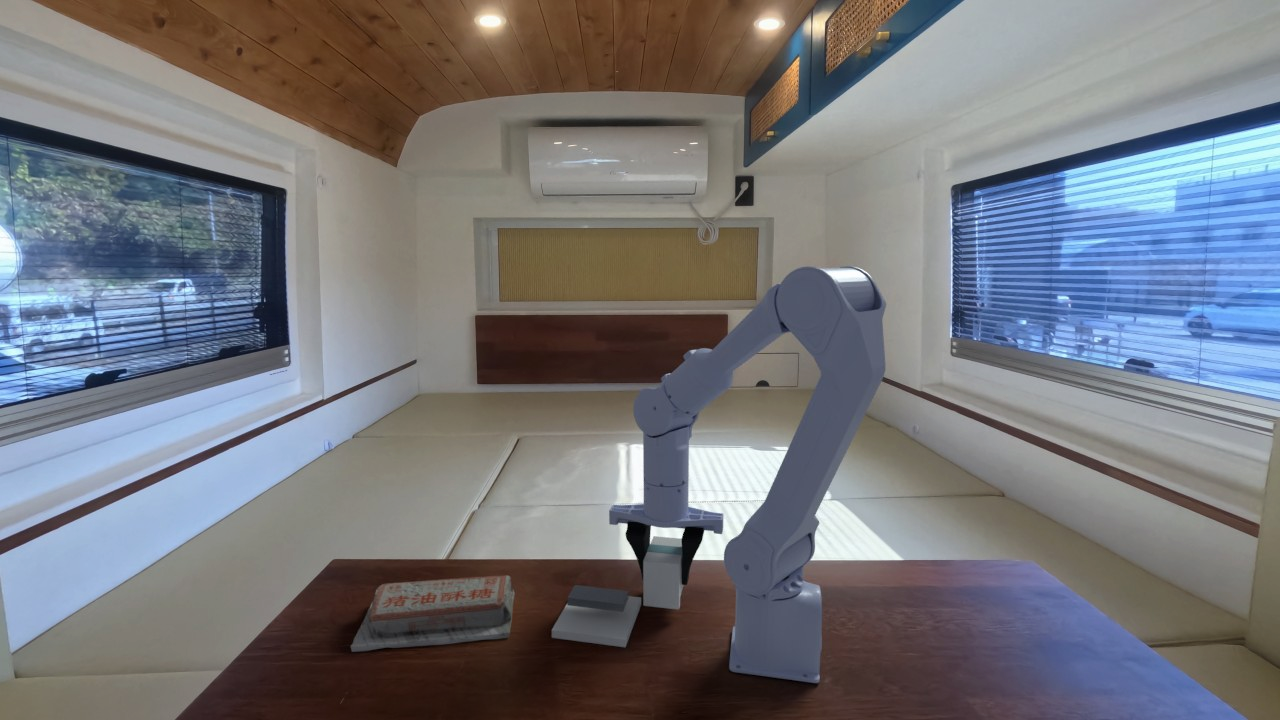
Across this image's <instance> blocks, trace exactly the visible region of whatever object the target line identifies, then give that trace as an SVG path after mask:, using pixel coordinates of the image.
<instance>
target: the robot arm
mask: <svg viewBox="0 0 1280 720" xmlns="http://www.w3.org/2000/svg"><path fill="white" fill-rule="evenodd" d="M886 307H887V301H886V300H885V298H884V296H883V294H882V293H881V291H880V289H879V287H878V285H877V283H876V281H875V280H874V279H873V277H872V275H870V274H869V273H868V272H867V271H866V270H864V269H862V268H859V267H857V266H850V265H849V266H848V265H846V266H839V267H818V266H817V267H816V266H809V265H807V266H801V267H798V268H796V269H794V270H792V271H791V272H789V273H788V274H787V275H786V276H785V277H784V278H783V280H782V281H781V282H780V283H779V282H778V283H777V284H774V285H773V286H772V287H770V288H769V289H768V290H767V291H766V293H765V295H764V296H763V298H762V299H761V300H760V302H759V303H758V304H756V306H755V307H754V308H752V310H751V311H750V312H749V313H748V314H747V315H745V317H744V318H743V319H742V320H741V321H740V322H739V323H738V324H737V325H736V326H735V327H733V329H731V331H730V332H729V333H728V334H727V335H726V336H725V337H724V338H722V340H721V341H720V342H719V343H718V344H717V345H716V346H715V347H714V348H713V349H711V348H706V347H704V348H698V349H691V350H688V351H687V352H685V353H684V355H683V356H682V357H683V359H684V361H682V363H681V364H680V365H679V366H678V367H677V368H675V369H674V370H673V371H672V372H671V373H665V374H664V375H662V376H661V378H660V381H661V382H660V384H659V385H658V387H645V388H642V389H641V390H640V391H639V393H638V395H637V396H636V397H635V399H634V402H633V407H632V409H633V410H632V412H633V417H634V420H635V423H636V425H637V427H638V428H639V430H640V431H642V433H643V434H642V435H643V437H642V438H643V439H642V440H643V441H642V442H643V451H642V452H643V463H642V464H643V465H642V466H643V467H642V468H643V470H642V471H643V503H639V504H638V503H637V504H613V505H612V506H611V507H610V509H608V513H609V514H608V516H609V517H608V518H609V519H608V521H609V525H610V526H611V525H612V526H617V525H619V524H626V525H627V527H626V531H625V539H626V540H627V542H628V543H629V546H631V549H632V551H633V552H634V555H635V557H636V560H637V562H638V565H639V566H638V567H639V570H640V573H641V579H642V580H641V581H643V561H644V558H645V556H646V553H647V550H648V547H649V545H650V544H651V531H652V527H656V528H662V529H663V528H664V529H668V528H669V529H670V528H674V529H684V530H683V533H682V535H681V536H682V537H681V539H682V557H683V565H682V585H683V586H687V585H688V583H689V578H690V569H691V566H692V563H693V561H694V558H695V555H696V554H697V552H698V550H699V548H700V546H701V544H702V542H703V538H704V534H705V531H708V532H713V533H714V534H718V535H723V531H724V513H722V512H713V511H708V510H705V509H699V508H695V507H692V506H689V487H690V486H689V484H690V483H689V476H690V475H689V469H690V468H689V465H690V463H689V461H690V439H691V438H692V436H693V434H692V431H693V430H692V429H693V427H694V425H695V423H696V422H697V420H698V419H699V416H700V412H702V411H703V410H704V409H705V408H706V407H707V406H709V405H710V404H712V402H714V401H715V400H716V399H718V398H719V397H720V396H721V395H723V394H724V393H725V392H727V391H728V390H729V389H730V388H731V387H732V385H733V381H734V371H735V370H737V369H738V368H739V367H741V366H743V364H745V363H746V362H748V361H749V360H750V359H752V358H753V357H755V356H756V355H757V354H759V353H760V352H761V351H762V350H764V349H765V348H767V347H768V346H769V345H771V344H772V343H773V342H775V341H776V340H777V339H779V338H780V337H782V336H783V335H784V334H788V333H791V334H792V335H793V337H795V339H797V340H798V342H799V343H800V344H801V345H802V346H803V347H804V349H806V351H807V352H808V354H810V355H811V357H813V360H814V361H815V363H816V366H817V367H818V369H819V370H820V371H819V372H820V377H819V379H818V382H817V383H816V386H815V388H814V391H813V393H812V395H811V397H810V398H809V401H808V403H807V406H806V408H805V411H804V413H803V415H802V417H801V420H800V422H799V424H798V426H797V428H796V430H795V433H794V435H793V437H792V439H791V442H790V444H789V446H788V448H787V451H786V452H785V455H784V458H783V459H782V462H781V463H780V464H781V465H780V467H779V469H778V470H777V473H776V474H775V477H774V480H773V482H772V484H771V487H770V489H769V491H768V493H767V495H766V497H765V500H764V501H763V503H762V504H761V505H760V506H759V507H758V508H757V510H756V511H755V512H754V513H753V514H752V515H751V516H750V517H749V519H748V520H747V521H746V522H745V524H744V526H743V528H742V531H741V532H740V533H739V534H738V535H737V536H735V537H734V538H731V539H730V540H729V541H728V543H727V544H726V545H725V548H724V552H723V562H724V567H725V571H726V573H727V575H728V577H729V578H730V580H731V581H732V583H733V587H734V588H735V618H734V619H735V622H734V623H735V625H734V626H732V633H731V641H730V642H731V643H730V655H729V665H728V668H729V670H730V671H731V672H732V673H739V674H744V675H745V674H746V675H751V676H752V675H755V676H761V677H768V678H776V679H783V680H789V681H790V680H792V681H797V682H805V683H810V684H811V683H812V684H818V683H820V667H821V652H822V650H823V649H822V647H823V646H822V645H823V639H822V638H823V637H822V627H823V605H822V602H823V601H822V591H821V587H820V585H818V584H815V583H811V582H807V581H805V580H804V578H803V577H804V566H805V565H807V564H808V563H809V562H810V561H811V560H812V559H813V556H814V554H815V551H816V542H815V541H816V540H815V539H816V532H817V530H818V527H819V525H820V521H819V519H818V517H817V515H816V514H817V512H818V511H819V508H820V506H821V504H822V502H823V500H824V498H825V497H826V493H827V492H828V491H829V488H830V486H831V485H832V481H833V480H834V477H835V476H836V474H837V472H838V470H839V468H840V467H841V464H842V462H843V459H844V457H845V455H846V453H847V451H848V449H849V447H850V445H851V444H852V442H853V440H854V437H855V435H856V434H857V431H858V429H859V427H860V425H861V423H862V421H863V419H864V417H865V416H866V414H867V412H868V409H869V408H870V405H871V403H872V401H873V399H874V397H875V395H876V393H877V391H878V388H879V387H880V385H881V383H882V382H883V379H884V376H885V372H886V357H885V356H886V354H885V339H884V338H885V337H884V327H883V325H884V323H883V318H884V315H885V311H886Z"/></svg>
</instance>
